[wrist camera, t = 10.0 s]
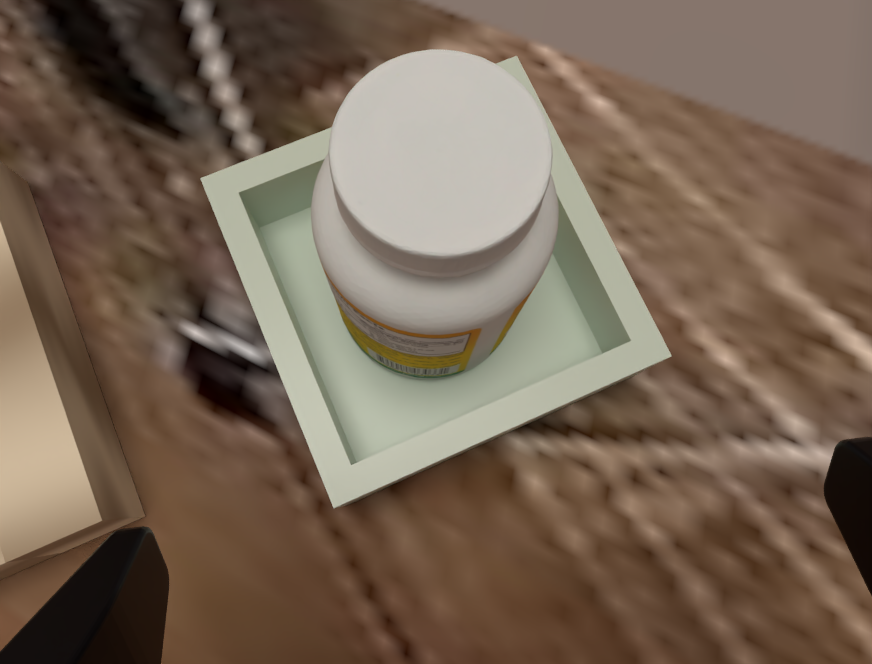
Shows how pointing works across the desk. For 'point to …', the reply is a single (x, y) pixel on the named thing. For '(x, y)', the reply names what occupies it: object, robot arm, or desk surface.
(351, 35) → the desk surface
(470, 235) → the supplement bottle
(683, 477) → the desk surface
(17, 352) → the socket block
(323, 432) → the tray
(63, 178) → the desk surface
